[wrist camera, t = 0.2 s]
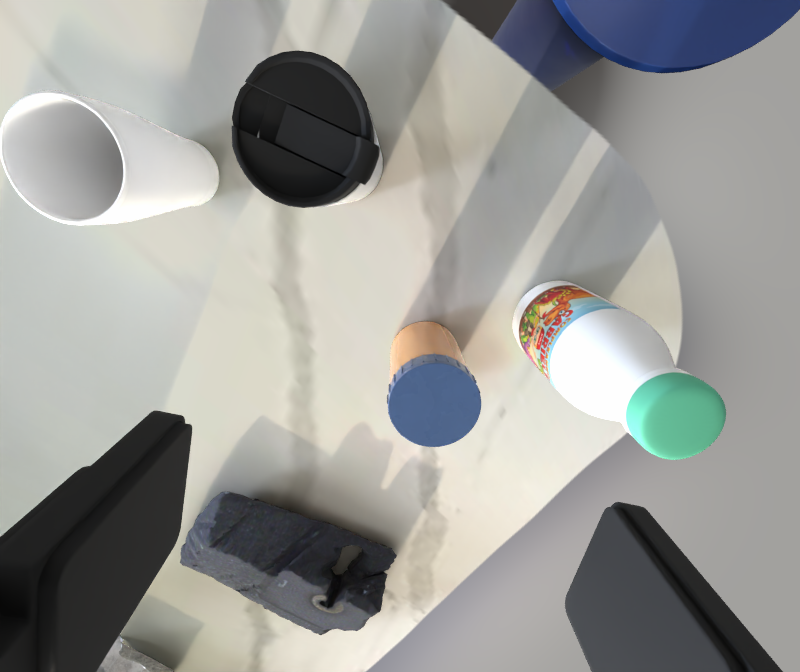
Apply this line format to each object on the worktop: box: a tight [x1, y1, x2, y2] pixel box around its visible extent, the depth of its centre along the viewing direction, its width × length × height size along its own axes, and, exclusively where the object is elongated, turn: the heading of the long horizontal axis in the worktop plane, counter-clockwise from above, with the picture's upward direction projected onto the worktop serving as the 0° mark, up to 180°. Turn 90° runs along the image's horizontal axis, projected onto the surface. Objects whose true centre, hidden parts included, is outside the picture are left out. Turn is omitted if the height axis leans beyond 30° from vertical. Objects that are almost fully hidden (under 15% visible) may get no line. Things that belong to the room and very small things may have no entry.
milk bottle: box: [512, 281, 726, 460], centre depth 32 cm, size 8×8×20 cm
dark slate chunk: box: [180, 492, 397, 635], centre depth 47 cm, size 15×22×5 cm
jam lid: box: [387, 353, 481, 447], centre depth 33 cm, size 7×7×2 cm
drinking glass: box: [0, 90, 219, 225], centre depth 30 cm, size 7×7×15 cm
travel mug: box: [232, 51, 383, 208], centre depth 28 cm, size 6×7×20 cm
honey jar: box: [390, 321, 468, 383], centre depth 37 cm, size 7×7×11 cm
